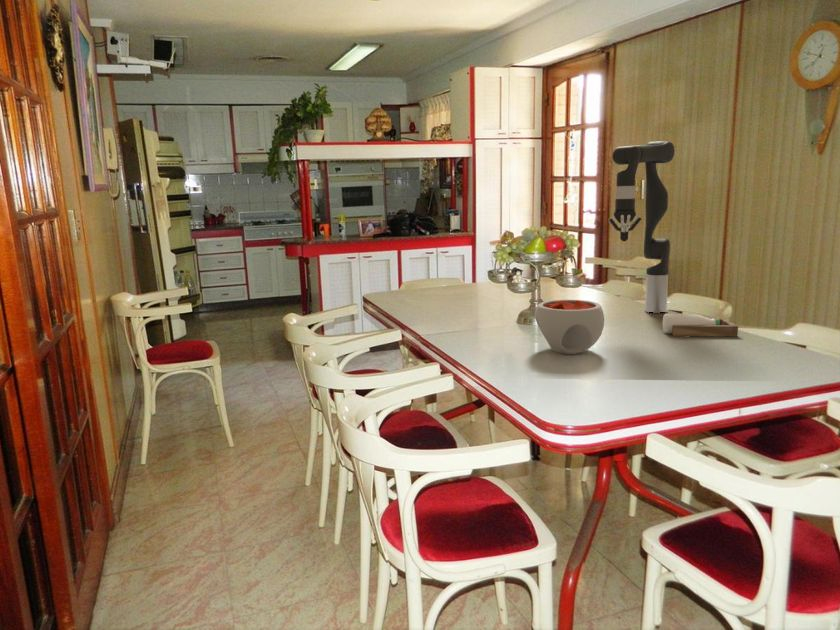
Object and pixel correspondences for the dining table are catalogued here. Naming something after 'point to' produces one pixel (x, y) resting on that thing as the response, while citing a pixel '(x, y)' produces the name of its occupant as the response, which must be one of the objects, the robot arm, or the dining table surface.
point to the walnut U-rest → (706, 329)
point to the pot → (570, 324)
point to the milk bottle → (685, 321)
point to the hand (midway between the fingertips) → (623, 241)
